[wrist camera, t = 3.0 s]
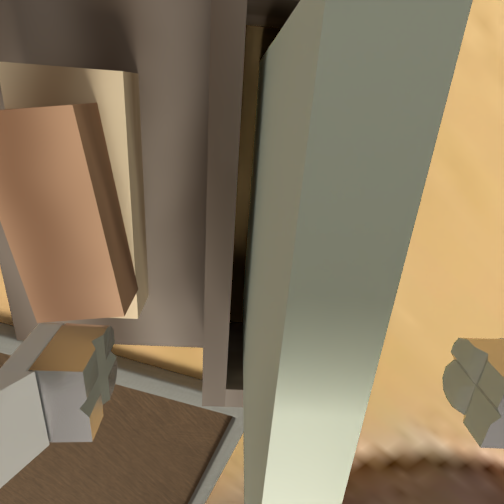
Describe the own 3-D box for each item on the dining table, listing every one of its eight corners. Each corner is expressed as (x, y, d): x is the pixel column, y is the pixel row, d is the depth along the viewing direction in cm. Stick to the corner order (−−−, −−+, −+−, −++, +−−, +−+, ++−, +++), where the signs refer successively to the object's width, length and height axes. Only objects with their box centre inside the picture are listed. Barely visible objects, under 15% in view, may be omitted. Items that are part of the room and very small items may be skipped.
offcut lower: (138, 73, 17) (122, 71, 15) (148, 295, 22) (138, 318, 20) (28, 65, 17) (-4, 61, 15) (63, 291, 22) (42, 314, 20)
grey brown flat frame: (258, 407, 26) (144, 617, 37) (257, 390, 28) (148, 596, 39) (-28, 326, 23) (-61, 583, 34) (-11, 312, 24) (-48, 562, 35)
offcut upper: (97, 102, 16) (72, 104, 13) (138, 289, 19) (124, 316, 17) (2, 109, 16) (-39, 113, 13) (61, 295, 19) (37, 322, 17)
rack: (339, 3, 18) (384, -36, 12) (292, 339, 25) (307, 409, 20) (-48, -32, 17) (-190, -92, 11) (27, 328, 24) (-36, 398, 19)
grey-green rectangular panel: (291, 64, 19) (480, -32, 4) (267, 304, 24) (307, 634, 9) (259, 61, 18) (331, -45, 4) (242, 302, 24) (245, 635, 9)
